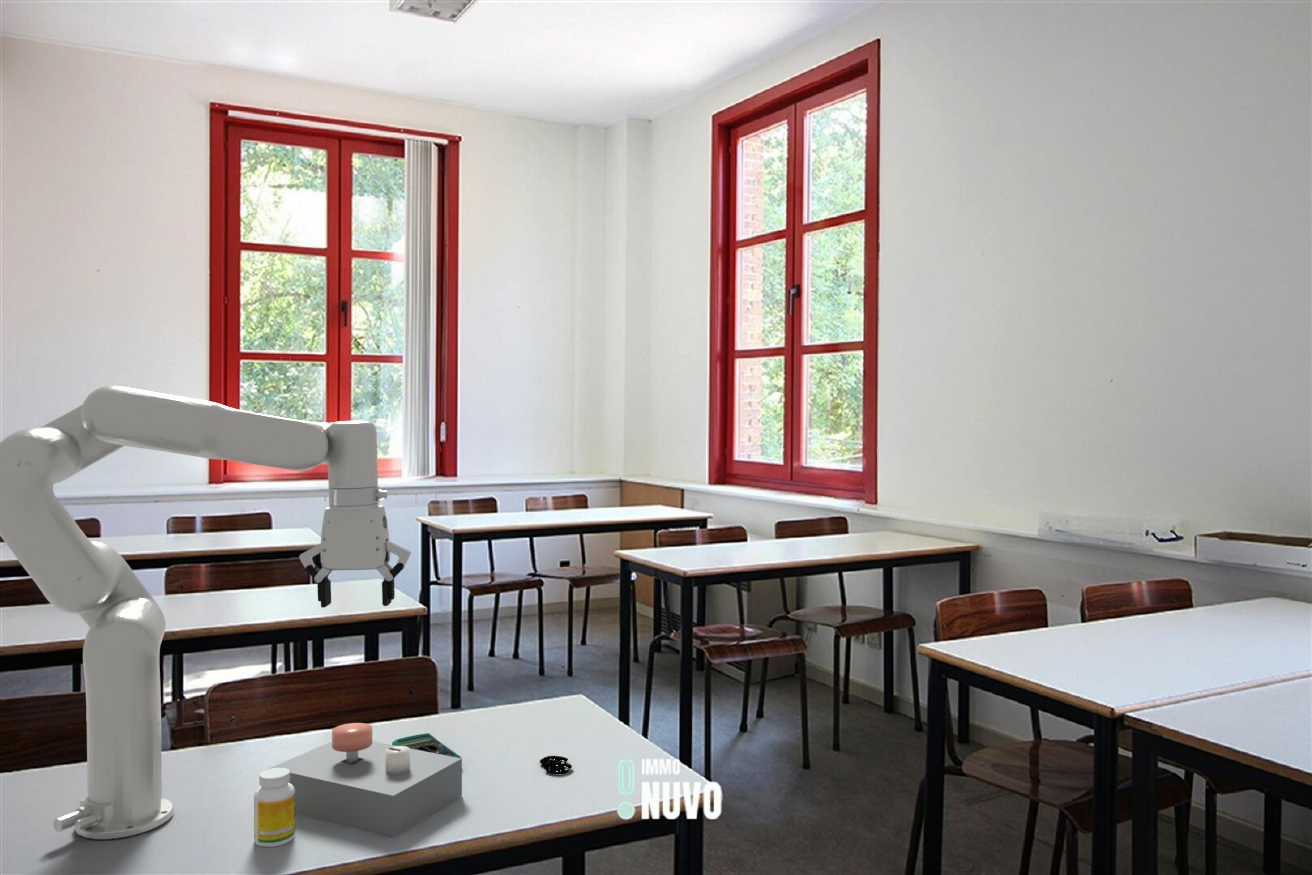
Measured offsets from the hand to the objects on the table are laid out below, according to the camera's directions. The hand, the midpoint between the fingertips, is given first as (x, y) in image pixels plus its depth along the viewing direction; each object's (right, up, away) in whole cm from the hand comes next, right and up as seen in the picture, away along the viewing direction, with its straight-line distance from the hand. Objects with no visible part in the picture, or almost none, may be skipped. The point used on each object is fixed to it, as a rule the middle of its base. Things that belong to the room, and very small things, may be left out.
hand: (356, 604), depth 151 cm
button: (0, -24, -3) cm, 24 cm away
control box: (+3, -30, -4) cm, 30 cm away
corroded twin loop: (+31, -30, +11) cm, 44 cm away
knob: (+8, -24, -7) cm, 26 cm away
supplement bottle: (-6, -30, -17) cm, 35 cm away
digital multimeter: (+8, -30, +14) cm, 34 cm away
